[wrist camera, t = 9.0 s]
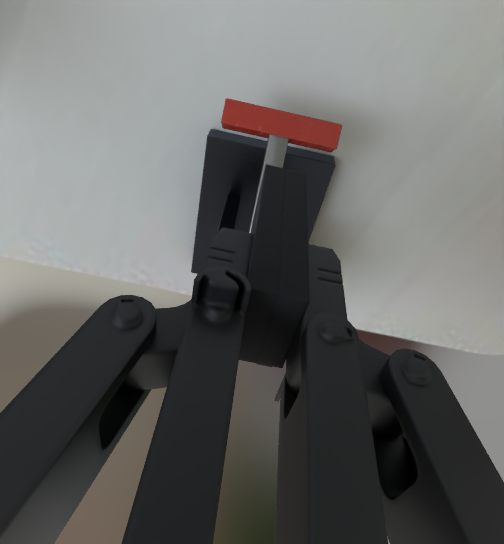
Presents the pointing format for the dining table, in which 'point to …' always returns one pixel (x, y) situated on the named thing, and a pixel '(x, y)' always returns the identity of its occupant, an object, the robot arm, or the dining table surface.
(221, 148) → the bracket
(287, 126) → the lever
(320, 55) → the dining table surface
